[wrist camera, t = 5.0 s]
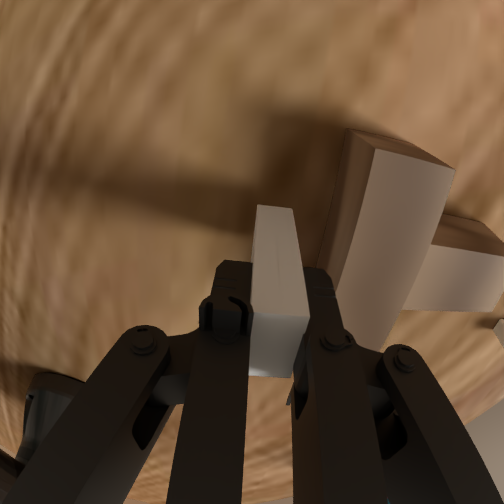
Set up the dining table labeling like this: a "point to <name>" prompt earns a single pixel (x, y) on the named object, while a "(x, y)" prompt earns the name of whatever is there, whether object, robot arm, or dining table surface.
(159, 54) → the dining table surface
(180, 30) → the dining table surface
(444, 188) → the t block
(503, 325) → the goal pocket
